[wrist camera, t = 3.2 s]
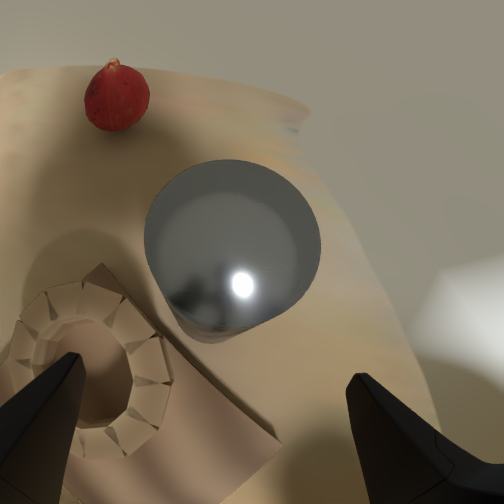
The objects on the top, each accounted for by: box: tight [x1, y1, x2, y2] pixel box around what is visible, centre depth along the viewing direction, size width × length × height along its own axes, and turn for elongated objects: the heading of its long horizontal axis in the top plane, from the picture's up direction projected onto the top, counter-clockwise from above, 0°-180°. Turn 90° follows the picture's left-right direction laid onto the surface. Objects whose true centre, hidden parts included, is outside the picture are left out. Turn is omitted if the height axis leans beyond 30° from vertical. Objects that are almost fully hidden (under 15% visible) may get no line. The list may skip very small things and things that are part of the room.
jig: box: [0, 263, 284, 504], centre depth 14 cm, size 15×18×4 cm
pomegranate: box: [84, 58, 150, 131], centre depth 20 cm, size 6×6×8 cm
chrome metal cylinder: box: [144, 160, 321, 344], centre depth 14 cm, size 5×5×13 cm
